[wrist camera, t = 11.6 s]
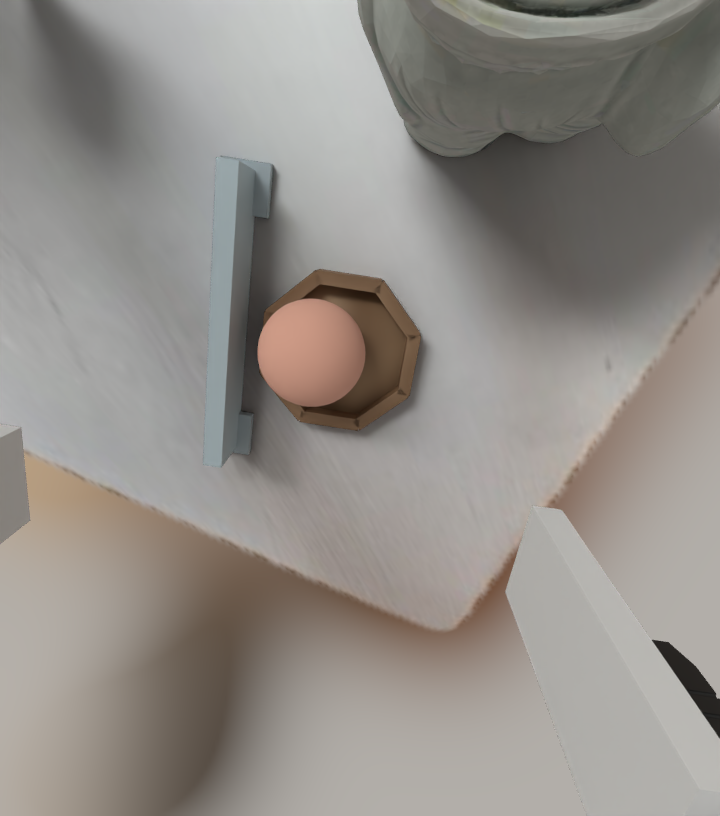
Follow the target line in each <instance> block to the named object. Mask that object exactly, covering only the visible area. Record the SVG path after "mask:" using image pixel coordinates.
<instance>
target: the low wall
mask: <svg viewBox="0 0 720 816" xmlns="http://www.w3.org/2000/svg"><path fill="white" fill-rule="evenodd" d="M272 176H273V165H272V164H270V163H263V162H257V161H251V160H245V159H238V158H232V157H226V156H221V157H220V158H219V157H216V172H215V195H214V218H213V242H212V265H211V288H210V311H209V334H208V357H207V381H206V404H205V427H204V450H203V465H207V466H213V467H220V468H221V467H222V466H223V465H224V463H225V462H226V460H227V459H228V458H229V456H230V455H231V454H232V452H233V453H240V454H246V455H249V453H250V452H251V440H252V428H253V415H254V413H248V412H242V411H241V406H242V391H243V377H244V363H245V349H246V334H247V320H248V306H249V291H250V277H251V263H252V249H253V234H254V220H255V217H262V218H268V219H269V214H270V201H271V189H272Z"/></svg>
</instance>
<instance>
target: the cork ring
mask: <svg viewBox="0 0 720 816" xmlns="http://www.w3.org/2000/svg"><path fill="white" fill-rule="evenodd" d="M302 299H320V300H325V301H328V302H331V303H333V304H335V305H337V306H339V307H340V308H342V309H343V310H345V311H346V312H347V313H348V314H349V315H350V316H351V317H352V318H353V319H354V321H355V322H356V323H357V325H358V327H359V328H360V331H361V333H362V336H363V339H364V344H365V363H364V367H363V371H362V373H361V376H360V378H359V380H358V381H357V383H356V385H355V386H354V387H353V388H352V389H351V390H350V391H349V392H348V393H347V394H346V395H345V396H344V397H342V398H341V399H339V400H337V401H335V402H333V403H330V404H327V405H323V406H318V407H307V406H301V405H297V404H294V403H291V402H289V401H287V400H285V399H283V398H282V397H280V396H279V395H278V394H277V393H276V392H275V393H276V395H277V396H278V397H279V398H280V400H281V401H282V402H283V403H284V404H285V406H286V407H287V408H288V409H289V411H290V412H291V413H292V414H293V415H294V417H295V418H296V419H297V420H300V422H304V423H311V424H317V425H323V426H330V427H336V428H343V429H349V430H356V431H358V429H359V430H361V429H362V428H364V427H365V426H367V425H368V424H370V423H371V422H373V421H374V420H376V419H377V418H379V417H380V416H382V415H383V414H385V413H386V412H388V411H389V410H391V409H392V408H394V407H395V406H397V405H398V404H400V403H401V402H403V401H404V400H406V399H407V398H408V396H410V391H411V386H412V381H413V375H414V370H415V365H416V360H417V355H418V350H419V344H420V339H421V335H420V332H419V330H418V329H417V327H416V326H415V324H414V323H413V321H412V320H411V319H410V317H409V316H408V314H407V313H406V311H405V310H404V308H403V307H402V306H401V304H400V303H399V301H398V300H397V298H396V297H395V296H394V294H393V293H392V291H391V290H390V288H389V287H388V286H387V284H386V283H385V281H384V280H383V281H382V279H380V278H374V277H368V276H361V275H355V274H349V273H342V272H336V271H330V270H323V269H319V270H315V271H314V272H313V273H311V274H310V275H309V276H308V277H306V278H305V279H304V280H302V281H301V282H300V283H299V284H297V285H296V286H295V287H294V288H292V289H291V290H290V291H289V292H287V293H286V294H285V295H283V296H282V297H281V298H280V299H278V300H277V301H276V302H275V303H273V304H272V305H271V306H270V307H268V308H267V309H266V311H265V312H264V320H263V327H264V325H265V324H266V322H267V321H268V320H269V318H270V317H271V316H272V315H273V314H274V313H275V312H276V311H277V310H279V309H280V308H281V307H283V306H284V305H286V304H289V303H291V302H294V301H297V300H302ZM259 373H261V374H260V375H261V376H262V378H263V379H264V377H263V375H262V372H261V370H259ZM264 380H265V379H264ZM265 381H266V380H265ZM266 383H267V382H266ZM267 384H268V383H267ZM271 389H272V388H271Z"/></svg>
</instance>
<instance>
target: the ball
mask: <svg viewBox="0 0 720 816" xmlns="http://www.w3.org/2000/svg"><path fill="white" fill-rule="evenodd" d="M258 362H259V367H260V370H261V372H262V375H263V377H264V379H265V380H266V382H267V383H268V385H269V386H270V387H271V388H272V390H273V391H274V392H276V393H277V394H278V395H279V396H280V397H282V398H283V399H285V400H287V401H289V402H291V403H294V404H297V405H301V406H307V407H318V406H323V405H327V404H330V403H333V402H335V401H337V400H339V399H341V398H342V397H344V396H345V395H346V394H347V393H348V392H349V391H350V390H351V389H352V388H353V387H354V386H355V385H356V383H357V381H358V380H359V378H360V376H361V373H362V371H363V367H364V363H365V344H364V339H363V336H362V333H361V331H360V328H359V327H358V325H357V323H356V322H355V321H354V319H353V318H352V317H351V316H350V315H349V314H348V313H347V312H346V311H345V310H343V309H342V308H340V307H339V306H337V305H335V304H333V303H331V302H328V301H325V300H320V299H302V300H297V301H294V302H291V303H289V304H286V305H284V306H283V307H281V308H280V309H279V310H277V311H276V312H275V313H274V314H273V315H272V316H271V317H270V318H269V320H268V321H267V322H266V324H265V325H264V327H263V329H262V332H261V334H260V338H259V342H258Z"/></svg>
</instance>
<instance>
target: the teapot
mask: <svg viewBox="0 0 720 816" xmlns="http://www.w3.org/2000/svg"><path fill="white" fill-rule="evenodd" d="M357 2H358V11H359V17H360V20H361V23H362V27H363V30H364V32H365V34H366V37H367V39H368V41H369V44H370V46H371V48H372V51H373V53H374V55H375V58H376V60H377V62H378V65H379V67H380V70H381V72H382V75H383V77H384V80H385V82H386V85H387V87H388V90H389V92H390V95H391V97H392V100H393V102H394V105H395V107H396V109H397V111H398V113H399V115H400V116H401V118H402V119H403V120H404V125H405V127H406V129H407V131H408V133H409V134H410V135H411V137H412V138H413V139H415V140H416V141H417V142H418V143H419V144H420V145H421V146H423V147H425V148H426V149H428V150H429V151H431V152H433V153H436V154H439V155H441V156H446V157H462V156H468V155H471V154H473V153H476V152H478V151H480V150H483V149H485V148H487V147H488V146H489V145H490V144H491V143H492V142H493V141H494V140H495V139H496V138H497V137H499V136H500V135H502V134H503V133H512V134H515V135H518V136H520V137H522V138H524V139H526V140H528V141H533V142H541V143H554V142H561V141H564V140H566V139H568V138H570V137H572V136H574V135H575V134H577V133H579V132H584V131H586V130H589V129H591V128H594V127H597V126H599V125H601V124H603V125H604V126H605V127H606V129H607V130H608V132H609V133H610V135H611V136H612V138H613V139H614V141H615V142H616V143H617V144H618V145H619V146H620V147H621V148H622V149H623V150H624V151H625V152H627V153H629V154H632V155H634V156H642V155H647V154H650V153H653V152H655V151H657V150H659V149H662V148H663V147H664V146H666V145H667V144H668V143H669V142H671V141H672V140H673V139H674V138H676V137H677V136H678V135H679V134H680V133H682V132H683V131H684V130H685V129H687V128H688V127H689V126H690V125H692V124H693V123H694V122H696V121H697V120H699V119H700V118H701V117H703V116H704V115H706V114H707V113H709V112H710V111H711V110H712V109H713V108H714V107H715V106H716V105H717V104H718V103H720V0H357Z"/></svg>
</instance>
